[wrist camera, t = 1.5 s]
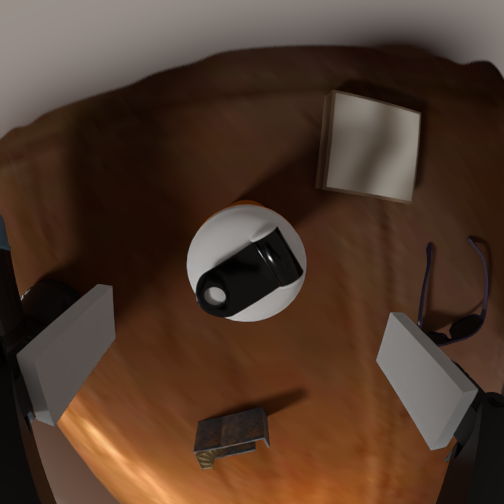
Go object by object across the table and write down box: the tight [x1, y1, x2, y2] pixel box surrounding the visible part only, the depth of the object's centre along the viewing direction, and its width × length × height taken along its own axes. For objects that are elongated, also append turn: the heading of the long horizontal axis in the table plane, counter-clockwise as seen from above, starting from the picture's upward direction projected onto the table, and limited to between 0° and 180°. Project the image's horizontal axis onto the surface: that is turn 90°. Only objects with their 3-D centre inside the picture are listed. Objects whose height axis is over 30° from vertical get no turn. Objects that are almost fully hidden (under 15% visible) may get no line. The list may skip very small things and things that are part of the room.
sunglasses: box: [417, 237, 489, 346], centre depth 41 cm, size 14×16×5 cm
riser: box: [315, 90, 421, 205], centre depth 36 cm, size 12×12×4 cm
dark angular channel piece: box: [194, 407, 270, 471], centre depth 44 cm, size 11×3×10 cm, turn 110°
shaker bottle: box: [187, 200, 306, 322], centre depth 31 cm, size 9×9×20 cm
